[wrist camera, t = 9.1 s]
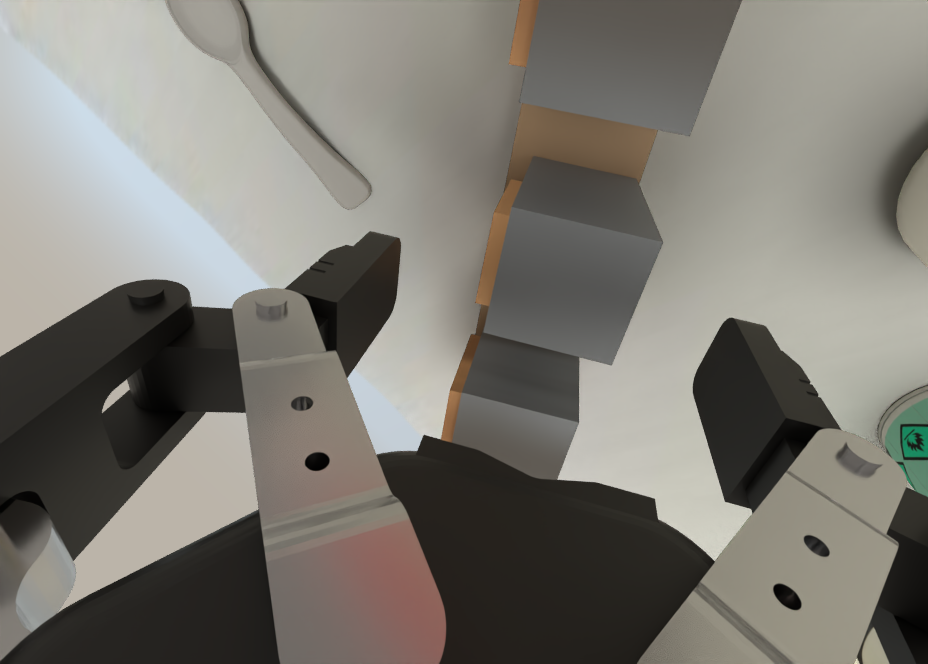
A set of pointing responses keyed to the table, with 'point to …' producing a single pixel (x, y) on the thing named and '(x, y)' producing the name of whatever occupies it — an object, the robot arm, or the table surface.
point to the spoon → (265, 90)
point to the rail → (592, 146)
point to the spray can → (908, 437)
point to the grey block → (568, 259)
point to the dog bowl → (871, 648)
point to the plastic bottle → (915, 209)
